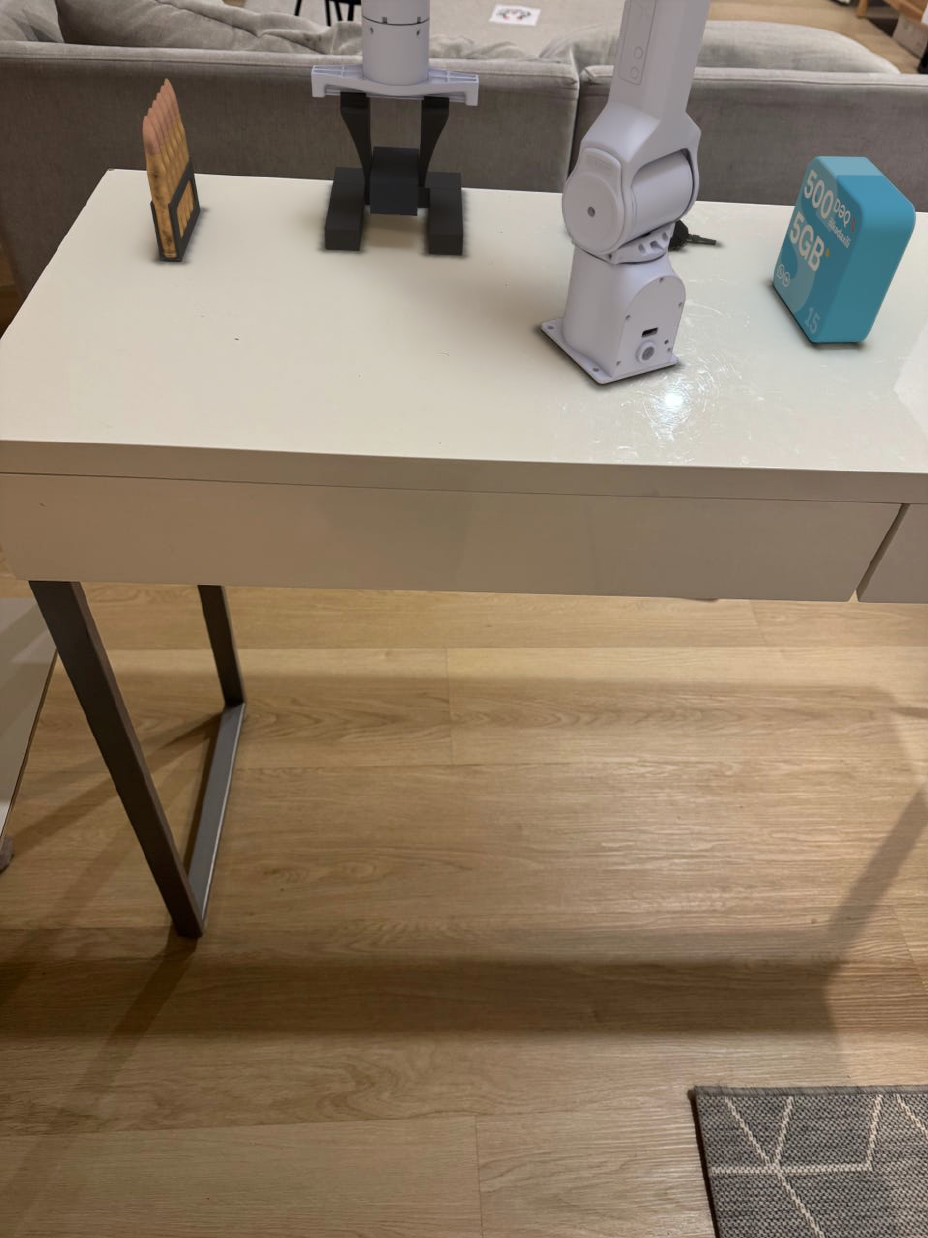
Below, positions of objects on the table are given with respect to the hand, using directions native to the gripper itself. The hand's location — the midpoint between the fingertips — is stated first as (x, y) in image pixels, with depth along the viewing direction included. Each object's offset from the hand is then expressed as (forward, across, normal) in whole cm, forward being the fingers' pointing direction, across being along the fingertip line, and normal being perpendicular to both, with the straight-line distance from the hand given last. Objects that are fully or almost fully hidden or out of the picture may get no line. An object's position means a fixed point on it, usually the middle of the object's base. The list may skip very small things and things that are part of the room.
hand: (395, 181), depth 86 cm
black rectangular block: (+1, 0, 0) cm, 1 cm away
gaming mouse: (+5, -25, -1) cm, 25 cm away
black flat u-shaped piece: (+5, 0, -2) cm, 5 cm away
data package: (+5, -39, +13) cm, 41 cm away
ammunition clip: (+5, +20, +3) cm, 21 cm away
